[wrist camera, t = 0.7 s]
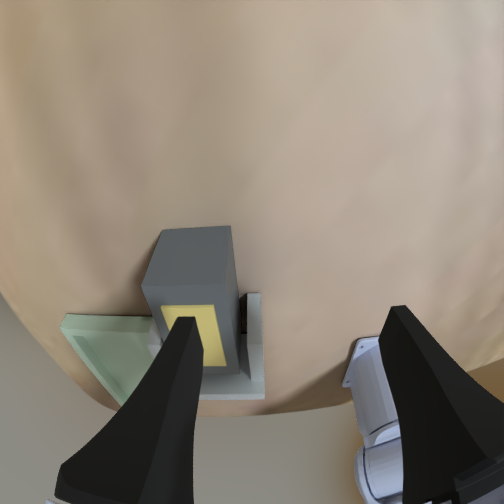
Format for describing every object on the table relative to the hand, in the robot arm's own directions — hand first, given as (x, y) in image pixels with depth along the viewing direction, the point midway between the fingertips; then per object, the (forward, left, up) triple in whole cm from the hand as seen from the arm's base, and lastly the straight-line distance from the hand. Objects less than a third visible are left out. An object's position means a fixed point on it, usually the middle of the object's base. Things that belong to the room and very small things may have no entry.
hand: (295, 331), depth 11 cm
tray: (-19, +15, -10) cm, 26 cm away
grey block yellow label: (-6, +5, -10) cm, 13 cm away
